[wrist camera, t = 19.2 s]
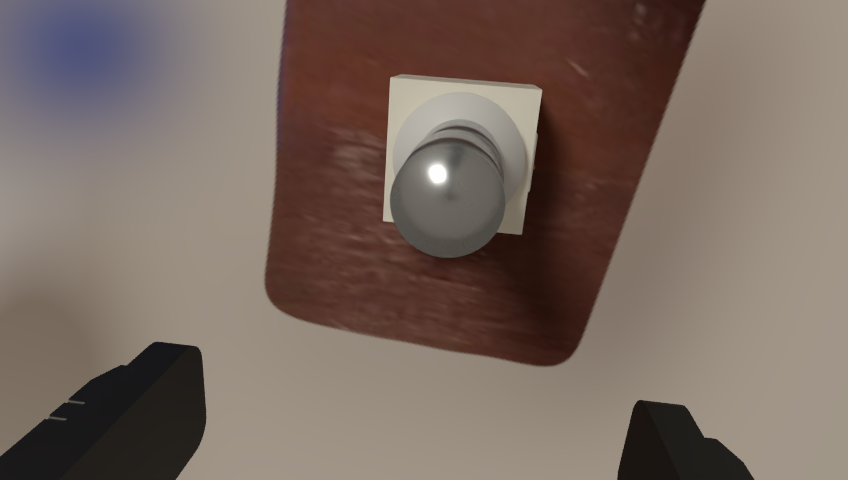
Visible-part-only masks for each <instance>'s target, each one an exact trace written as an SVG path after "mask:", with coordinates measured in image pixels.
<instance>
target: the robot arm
mask: <svg viewBox="0 0 848 480" xmlns="http://www.w3.org/2000/svg"><path fill="white" fill-rule="evenodd" d="M205 425H206V404H205V391H204V378H203V364H202V355H201V352H200V350H199V348H198V347H196V346H190V345H181V344H172V343H164V342H154V343H152V344H151V345H149V346H148V347H147V348H146V349H145V350H144V351H143V352H142V353H140V354H139V355H138V356H137V357H136V358H135V359H134V360H132V361H131V362H130V363H129V364H128V365H127V366H124V365H120V366H118V367H116V368H114V369H112V370H110V371H108V372H106V373H104V374H102V375H100V376H98V377H96V378H94V379H92V380H90V381H89V382H88V383H87V384H86V385H84V387H82V388H81V389H80V390H78V391H77V392H76V393H75V394H74V395H73V396H71V398H69V401H68V403H63V404H62V405H61V406H60V407H58V409H56V410H55V411H54V412H52V413H51V414H50V417H49V419H44V420H43V421H42V422H41V423H39V424H38V425H37V426H36V427H35V428H34V429H32V430H31V431H30V432H29V433H28V434H26V435H25V436H24V437H23V438H22V439H21V440H19V441H18V442H17V443H16V444H15V445H13V446H12V447H11V448H10V449H9V450H8V451H6V452H5V453H4V454H3V455H2V456H0V480H176V478H177V477H178V475H179V474H180V472H181V471H182V470H183V468H184V467H185V466H186V464H187V463H188V461H189V460H190V458H191V457H192V456H193V454H194V453H195V451H196V450H197V448H198V446H199V445H200V442H201V440H202V437H203V434H204V430H205ZM617 480H754V478H753V477H752V475H751V474H750V472H749V471H748V469H747V467H746V466H745V465H744V463H743V462H742V461H741V460H740V459H739V458H737V456H735V455H734V454H733V453H732V452H731V451H730V450H728V449H727V448H726V447H725V446H724V445H723V444H722V443H721V442H719V441H718V440H717V439H712V438H704V436H703V435H702V433H701V431H700V429H699V428H698V426H697V425H696V422H695V421H694V419H693V417H692V416H691V414H690V412H689V411H688V409H687V408H686V407H685V406H683V405H677V404H669V403H660V402H651V401H643V400H639V401H637V402H636V404H635V406H634V408H633V412H632V415H631V420H630V424H629V428H628V432H627V436H626V440H625V444H624V449H623V453H622V457H621V461H620V465H619V470H618V478H617Z"/></svg>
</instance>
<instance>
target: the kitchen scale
mask: <svg viewBox="0 0 848 480" xmlns="http://www.w3.org/2000/svg"><path fill="white" fill-rule="evenodd" d="M541 95H542V90H541V89H540V88H538V87H537V86H535V85H528V84H516V83H504V82H491V81H479V80H467V79H454V78H442V77H430V76H418V75H405V74H401V75H397V76H394V77H391V78H390V95H389V115H388V135H387V155H386V174H385V194H384V214H383V221H388V222H394V221H393V218H392V214H391V209H390V193H391V188H392V184H393V182H394V179H395V177H396V175H397V174H398V172H399V170H400V169H401V167H402V166H403V164H404V163H405V161H406V160H407V158H408V157H409V155H410V154H411V152H412V151H413V149H414V148H415V147H416V146H417V145H418V144H419V143H420V142H421V141H422V140H423V139H424V138H425V136H426V135H427V134H428V133H429V132H430V131H431V130H432V129H433V128H434V127H436V126H437V125H439V124H441V123H443V122H445V121H449V120H454V119H465V120H470V121H473V122H476V123H478V124H480V125H481V126H483V127H484V128H486V129H487V130H488V131H489V132H490V133H491V134H492V136H493V137H494V139H495V140H496V142H497V144H498V147H499V151H500V156H501V161H502V166H503V171H504V185H503V187H504V192H505V212H504V217H503V220H502V223H501V225H500V227H499V229H498V231H497V232H498V233H508V234H518V235H522V230H523V223H524V215H525V208H526V201H527V194H528V192H530V187H531V180H532V173H533V170H535V165H534V159H535V152H536V145H537V137H538V134H537V133H536V131H537V123H538V116H539V109H540V102H541Z"/></svg>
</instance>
